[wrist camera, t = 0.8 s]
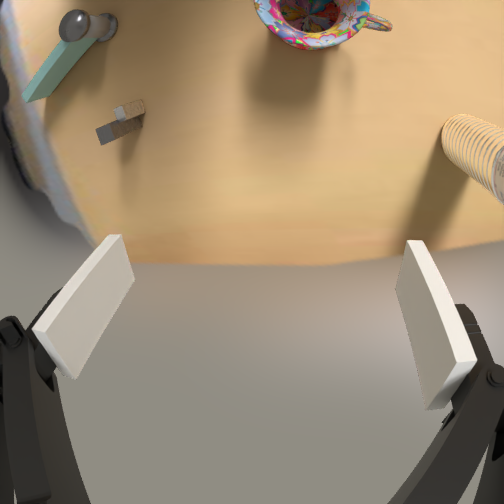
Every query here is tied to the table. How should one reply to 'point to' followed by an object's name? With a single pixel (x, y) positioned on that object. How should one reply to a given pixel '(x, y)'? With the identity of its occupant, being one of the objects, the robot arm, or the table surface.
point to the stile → (122, 122)
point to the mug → (318, 20)
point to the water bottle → (476, 151)
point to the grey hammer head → (82, 26)
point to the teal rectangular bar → (64, 60)
